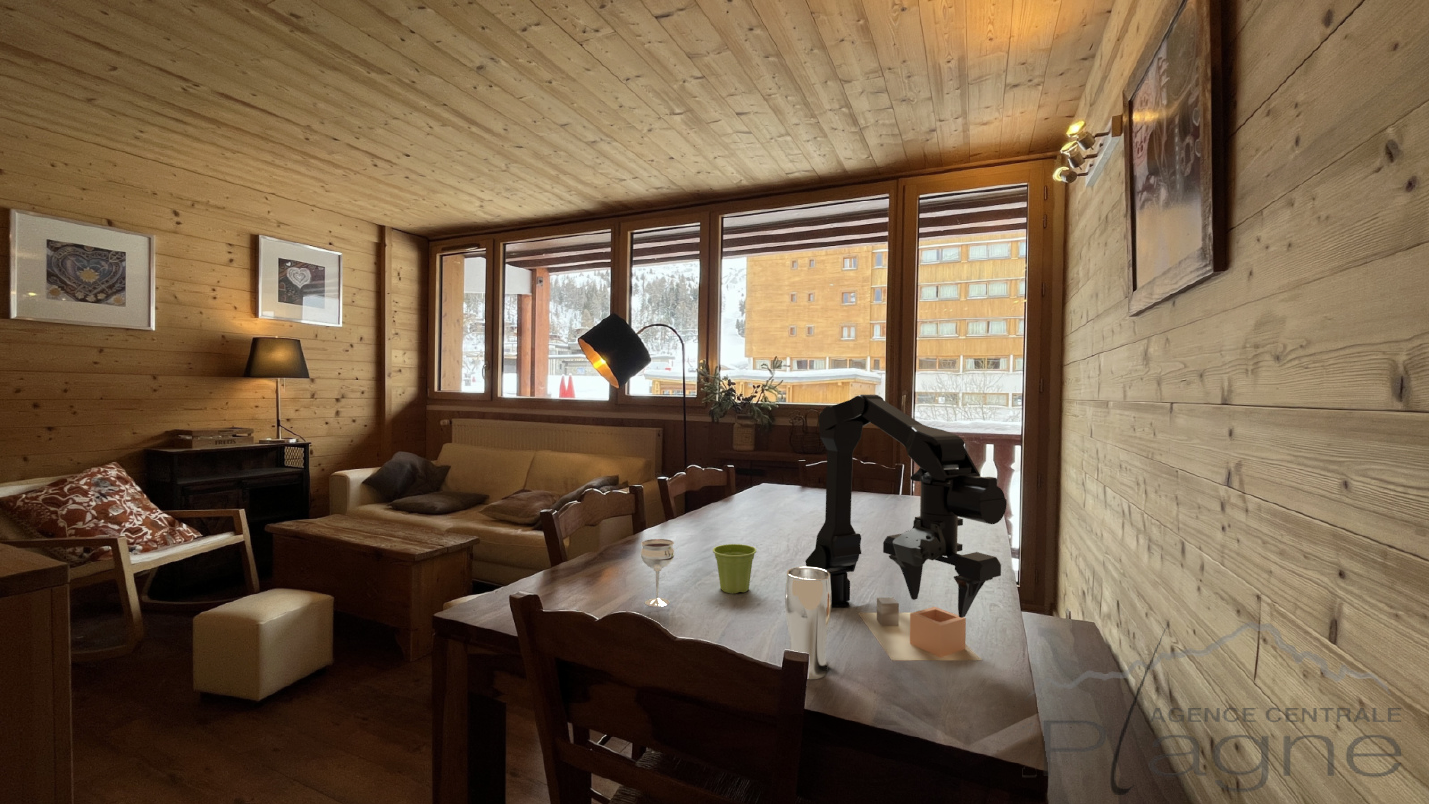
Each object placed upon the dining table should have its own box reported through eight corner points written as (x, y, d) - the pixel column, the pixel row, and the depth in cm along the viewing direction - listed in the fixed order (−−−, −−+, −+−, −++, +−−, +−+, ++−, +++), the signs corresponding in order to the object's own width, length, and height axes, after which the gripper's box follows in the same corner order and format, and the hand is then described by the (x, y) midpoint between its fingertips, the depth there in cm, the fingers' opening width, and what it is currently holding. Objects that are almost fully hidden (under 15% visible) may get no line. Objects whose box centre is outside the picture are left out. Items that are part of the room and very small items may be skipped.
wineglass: (633, 602, 122) (633, 542, 121) (658, 594, 127) (658, 537, 126) (655, 610, 117) (656, 549, 117) (681, 602, 122) (681, 542, 122)
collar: (940, 657, 94) (941, 625, 94) (909, 643, 99) (910, 613, 99) (965, 649, 97) (965, 618, 97) (934, 636, 102) (934, 606, 102)
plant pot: (705, 593, 128) (705, 552, 127) (722, 580, 136) (722, 541, 136) (747, 599, 124) (747, 557, 124) (761, 585, 133) (762, 546, 132)
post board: (891, 670, 93) (892, 634, 93) (857, 620, 113) (858, 591, 113) (982, 669, 93) (982, 634, 93) (932, 620, 113) (932, 591, 113)
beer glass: (780, 661, 96) (781, 566, 95) (823, 659, 96) (824, 565, 96) (789, 682, 89) (790, 580, 88) (836, 680, 89) (837, 579, 89)
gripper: (860, 506, 101) (859, 599, 102) (956, 529, 85) (954, 638, 86) (906, 500, 107) (904, 588, 107) (1004, 520, 91) (1002, 623, 92)
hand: (937, 607), depth 98 cm, fingers open, 9 cm apart
